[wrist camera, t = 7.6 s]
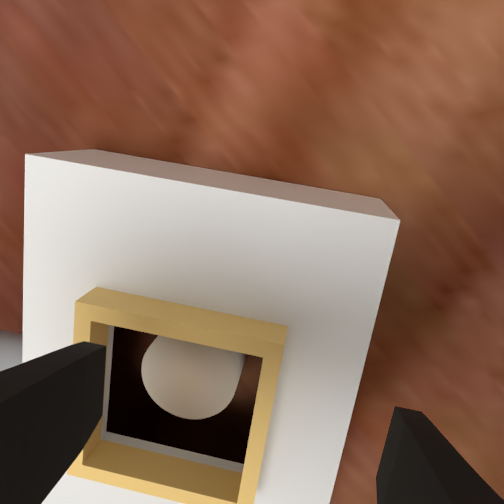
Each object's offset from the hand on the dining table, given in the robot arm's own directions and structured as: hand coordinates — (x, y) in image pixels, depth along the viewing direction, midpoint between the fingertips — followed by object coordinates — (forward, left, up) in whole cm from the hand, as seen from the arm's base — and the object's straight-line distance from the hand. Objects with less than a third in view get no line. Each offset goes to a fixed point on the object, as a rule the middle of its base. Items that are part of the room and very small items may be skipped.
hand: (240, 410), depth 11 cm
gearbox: (+4, +4, -10) cm, 12 cm away
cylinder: (+3, +4, -10) cm, 11 cm away
